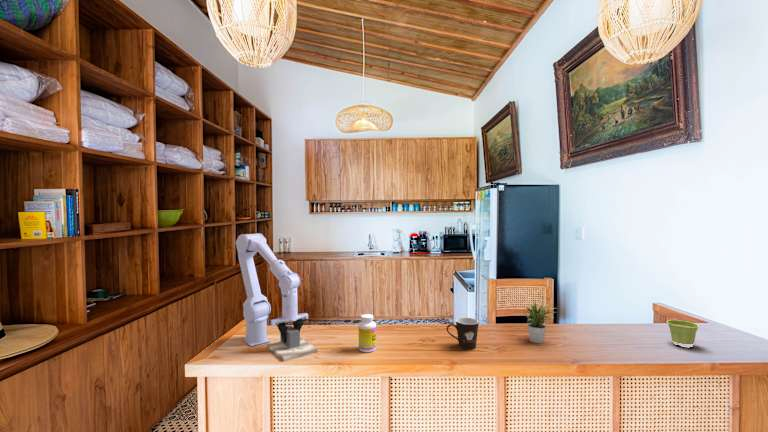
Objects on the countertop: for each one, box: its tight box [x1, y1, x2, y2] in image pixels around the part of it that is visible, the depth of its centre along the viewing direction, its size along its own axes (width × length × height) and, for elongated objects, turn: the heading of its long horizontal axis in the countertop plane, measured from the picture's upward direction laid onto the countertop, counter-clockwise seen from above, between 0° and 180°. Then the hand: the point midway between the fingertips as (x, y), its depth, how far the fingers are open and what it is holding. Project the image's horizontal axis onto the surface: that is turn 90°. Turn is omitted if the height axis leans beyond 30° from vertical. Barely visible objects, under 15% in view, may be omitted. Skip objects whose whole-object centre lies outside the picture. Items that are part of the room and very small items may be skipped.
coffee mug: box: [446, 317, 480, 351], centre depth 132 cm, size 12×9×10 cm
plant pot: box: [666, 319, 700, 344], centre depth 131 cm, size 9×9×9 cm
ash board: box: [267, 337, 318, 362], centre depth 130 cm, size 16×13×1 cm
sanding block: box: [280, 325, 301, 349], centre depth 131 cm, size 9×4×6 cm, turn 39°
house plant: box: [521, 299, 558, 344], centre depth 136 cm, size 14×14×16 cm
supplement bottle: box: [358, 313, 377, 353], centre depth 129 cm, size 7×7×13 cm
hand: (290, 340), depth 131 cm, fingers closed on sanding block, 4 cm apart
